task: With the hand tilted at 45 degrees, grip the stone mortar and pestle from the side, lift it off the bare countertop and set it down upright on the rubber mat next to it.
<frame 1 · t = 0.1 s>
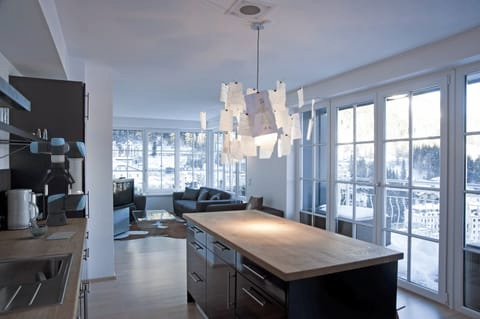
hand: (58, 194, 214), 28 cm above the worktop, tool pointing down, fingers open, 13 cm apart
rubber mat: (61, 236, 219), on the worktop
mortar and pestle: (37, 237, 216), on the worktop
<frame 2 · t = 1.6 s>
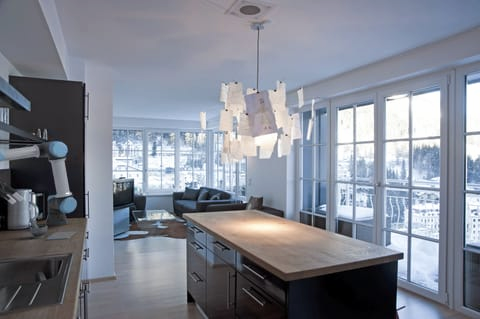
hand: (18, 201, 213), 24 cm above the worktop, tool tilted 45°, fingers open, 13 cm apart
nothing on the worktop moved.
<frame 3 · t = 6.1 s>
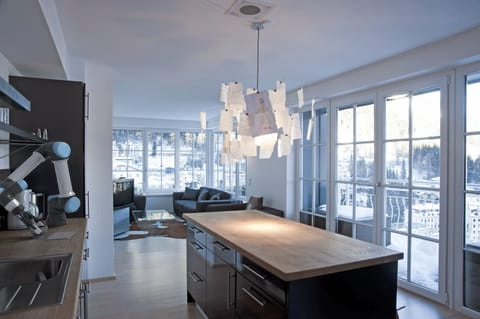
hand: (42, 230, 216), 4 cm above the worktop, tool tilted 45°, fingers closed on mortar and pestle, 10 cm apart
mortar and pestle: (37, 237, 216), on the worktop, touching gripper
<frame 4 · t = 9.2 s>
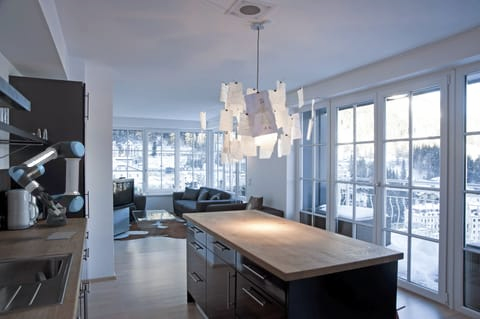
hand: (61, 212, 219), 16 cm above the worktop, tool tilted 45°, fingers closed on mortar and pestle, 10 cm apart
mortar and pestle: (56, 219, 218), point 12 cm above the worktop, touching gripper
when the fingers open (6 cm above the worktop, at t = 12.4 s): mortar and pestle drops 1 cm, resting on rubber mat.
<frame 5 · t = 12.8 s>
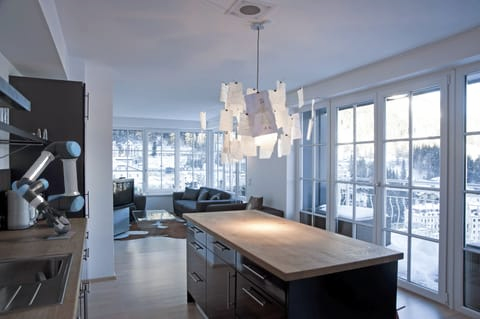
hand: (65, 225, 220), 7 cm above the worktop, tool tilted 45°, fingers open, 13 cm apart
mortar and pestle: (61, 235, 219), resting on rubber mat
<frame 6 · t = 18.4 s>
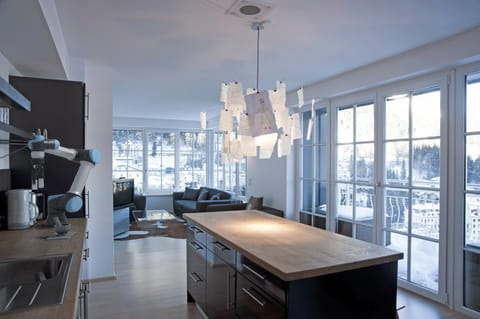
hand: (37, 188, 228), 31 cm above the worktop, tool pointing down, fingers open, 13 cm apart
nothing on the worktop moved.
at the end: mortar and pestle inside the target area on the rubber mat (0.1 cm from its centre), point 0.4 cm above the rubber mat's base; mortar and pestle tilted 0°; the gripper is holding nothing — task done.
